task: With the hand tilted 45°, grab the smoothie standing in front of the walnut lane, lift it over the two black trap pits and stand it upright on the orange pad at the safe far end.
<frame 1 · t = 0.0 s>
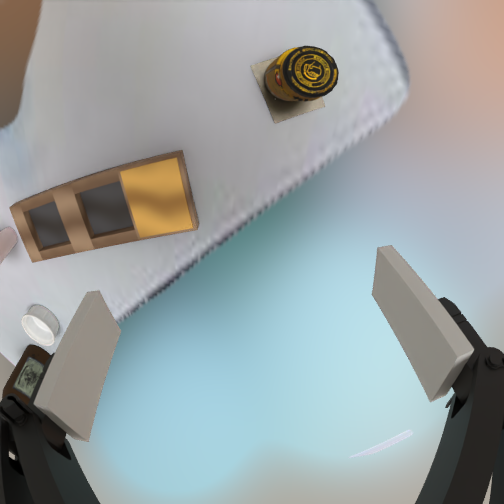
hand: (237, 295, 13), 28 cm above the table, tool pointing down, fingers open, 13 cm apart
smoothie: (11, 235, 39), on the table
condiment: (288, 85, 32), on the table
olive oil: (41, 356, 56), on the table
ramekin: (45, 317, 49), on the table
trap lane: (92, 210, 38), on the table
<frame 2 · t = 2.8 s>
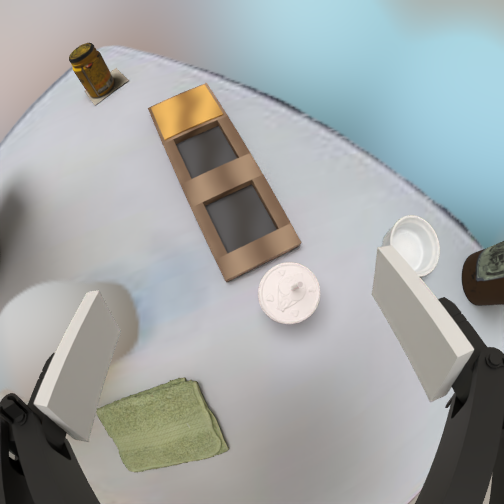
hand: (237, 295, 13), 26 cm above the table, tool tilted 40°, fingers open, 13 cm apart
smoothie: (280, 297, 38), on the table
washcloth: (161, 426, 35), on the table
condiment: (106, 86, 46), on the table
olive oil: (477, 278, 39), on the table
ramekin: (402, 251, 40), on the table
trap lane: (214, 168, 42), on the table
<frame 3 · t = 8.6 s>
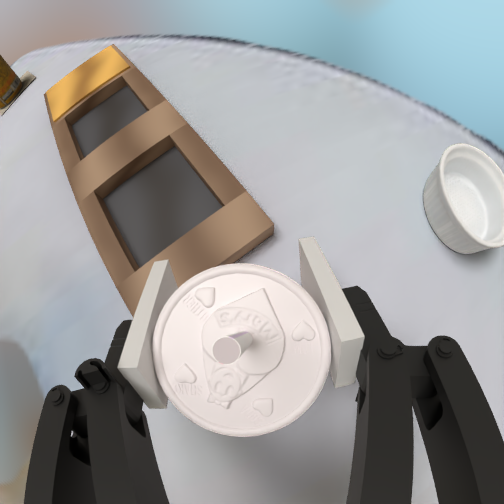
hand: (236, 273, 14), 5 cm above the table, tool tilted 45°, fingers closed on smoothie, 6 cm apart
smoothie: (253, 339, 19), on the table, touching gripper
condiment: (15, 92, 29), on the table
ramekin: (455, 212, 20), on the table
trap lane: (119, 140, 23), on the table
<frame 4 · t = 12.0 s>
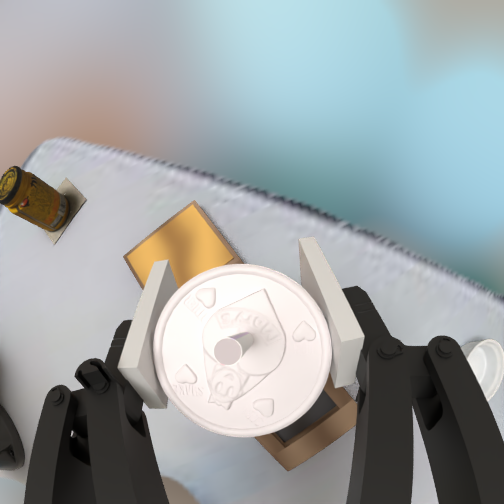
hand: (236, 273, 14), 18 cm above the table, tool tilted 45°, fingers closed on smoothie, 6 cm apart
smoothie: (253, 339, 19), point 13 cm above the table, touching gripper
condiment: (61, 210, 37), on the table
ramekin: (465, 370, 28), on the table
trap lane: (241, 340, 31), on the table
when the fingers open (9 cm above the table, at t = 15.6 s): smoothie drops 1 cm, resting on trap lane.
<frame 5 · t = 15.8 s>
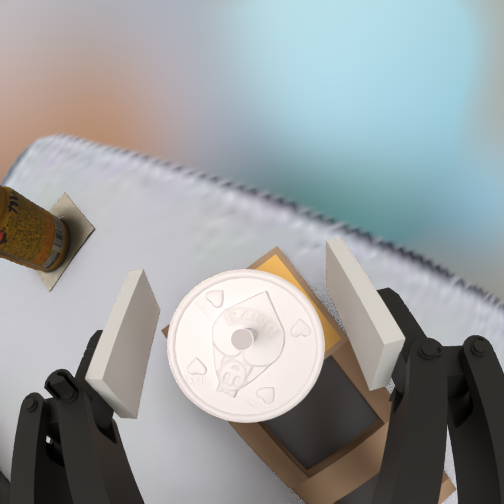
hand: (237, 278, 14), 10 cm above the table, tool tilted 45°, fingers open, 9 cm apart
smoothie: (252, 339, 20), point 2 cm above the table, touching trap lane
condiment: (57, 240, 26), on the table
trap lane: (336, 437, 20), on the table
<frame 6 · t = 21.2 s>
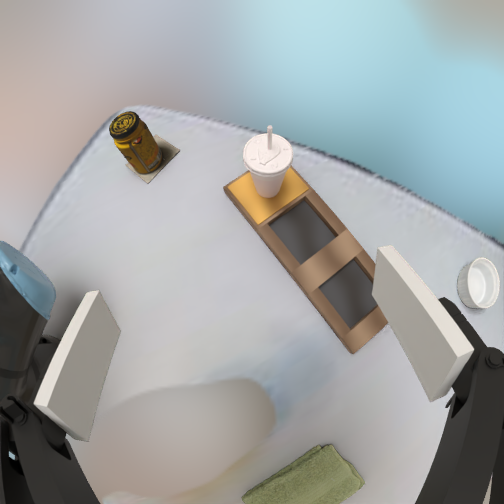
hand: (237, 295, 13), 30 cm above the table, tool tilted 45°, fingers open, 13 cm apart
smoothie: (267, 187, 44), point 2 cm above the table, touching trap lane
washcloth: (303, 487, 34), on the table
condiment: (152, 158, 49), on the table
ramekin: (470, 286, 40), on the table
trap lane: (314, 248, 43), on the table
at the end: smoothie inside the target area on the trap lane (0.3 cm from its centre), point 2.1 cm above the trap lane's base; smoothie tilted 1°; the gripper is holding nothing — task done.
